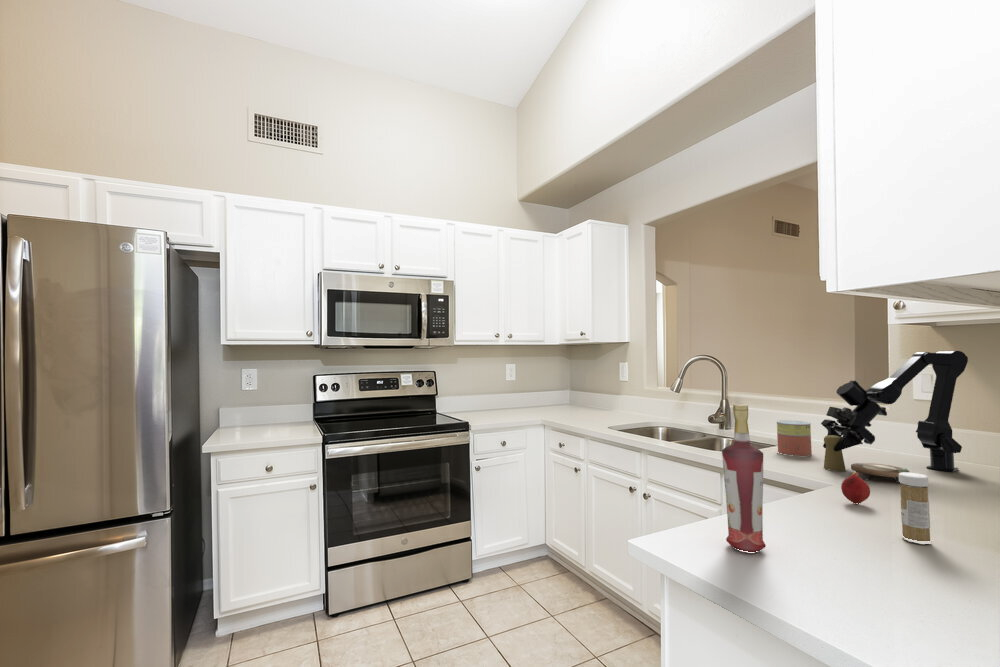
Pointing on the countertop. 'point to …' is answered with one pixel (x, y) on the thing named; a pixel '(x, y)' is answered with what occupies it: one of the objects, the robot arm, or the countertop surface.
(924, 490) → the sprinkles bottle
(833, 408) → the robot arm
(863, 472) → the brown shallow bowl
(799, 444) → the canned food
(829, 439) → the cork
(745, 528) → the liquor
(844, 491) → the onion
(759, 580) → the countertop surface
